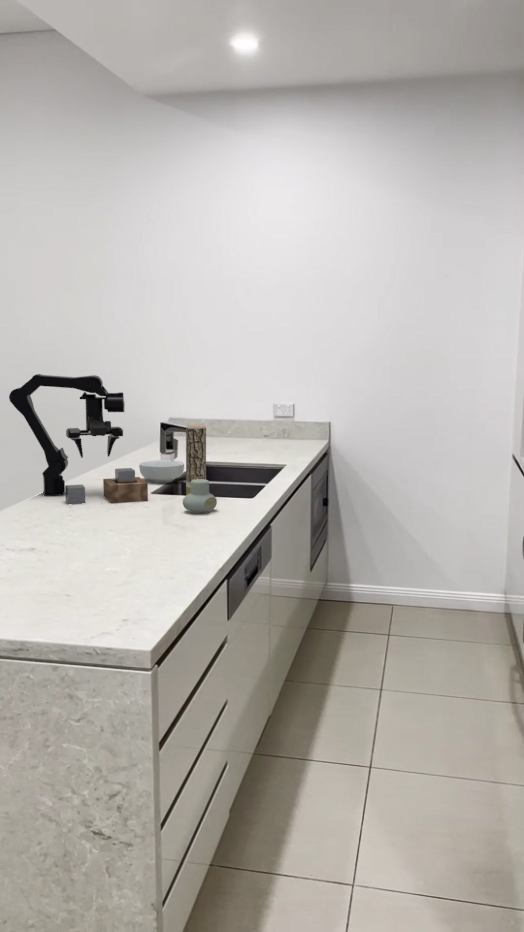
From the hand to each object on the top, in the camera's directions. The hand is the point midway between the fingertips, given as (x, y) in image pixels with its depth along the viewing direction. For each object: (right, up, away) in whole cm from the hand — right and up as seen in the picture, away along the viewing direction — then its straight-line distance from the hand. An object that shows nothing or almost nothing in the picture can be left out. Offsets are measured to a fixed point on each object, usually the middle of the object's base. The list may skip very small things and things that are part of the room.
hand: (95, 457), depth 280 cm
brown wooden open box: (+11, -14, -5) cm, 19 cm away
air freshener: (+38, -18, -23) cm, 48 cm away
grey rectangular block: (+11, -14, -5) cm, 19 cm away
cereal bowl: (+20, -9, +27) cm, 35 cm away
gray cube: (-4, -15, -12) cm, 20 cm away
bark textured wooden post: (+35, -14, -3) cm, 38 cm away
